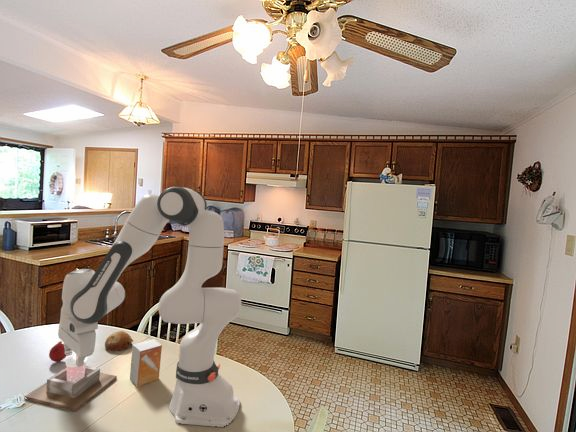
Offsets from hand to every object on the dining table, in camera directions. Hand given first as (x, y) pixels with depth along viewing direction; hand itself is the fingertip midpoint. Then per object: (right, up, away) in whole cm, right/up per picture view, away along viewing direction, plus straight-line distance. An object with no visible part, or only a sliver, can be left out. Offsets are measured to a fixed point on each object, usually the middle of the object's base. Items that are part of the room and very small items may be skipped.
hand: (73, 360), depth 105 cm
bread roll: (-2, -9, +32) cm, 33 cm away
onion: (-16, -8, +15) cm, 24 cm away
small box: (+18, -12, +11) cm, 24 cm away
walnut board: (-1, -10, +2) cm, 11 cm away
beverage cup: (-1, -10, +2) cm, 10 cm away
